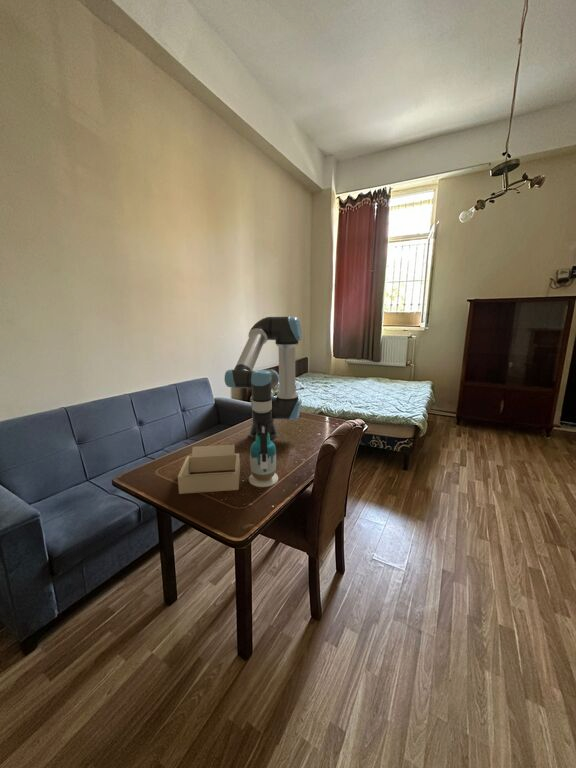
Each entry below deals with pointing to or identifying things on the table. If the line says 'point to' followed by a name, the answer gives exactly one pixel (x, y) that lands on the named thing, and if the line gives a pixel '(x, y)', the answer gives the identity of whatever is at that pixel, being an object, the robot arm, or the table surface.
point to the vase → (255, 459)
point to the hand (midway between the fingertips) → (263, 460)
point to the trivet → (263, 483)
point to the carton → (210, 461)
